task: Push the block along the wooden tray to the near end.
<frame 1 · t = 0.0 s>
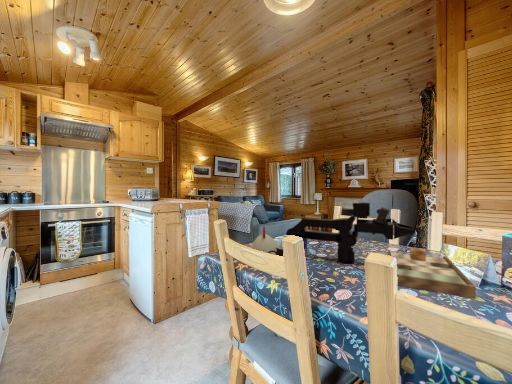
hand: (413, 229, 92), 17 cm above the table, tool horizontal, fingers open, 9 cm apart
beige cone with rod: (264, 259, 108), on the table
block: (417, 258, 100), point 2 cm above the table, touching wooden tray
wooden tray: (421, 272, 91), on the table
coffee mug: (283, 272, 92), on the table
puzzle toy: (294, 262, 105), on the table
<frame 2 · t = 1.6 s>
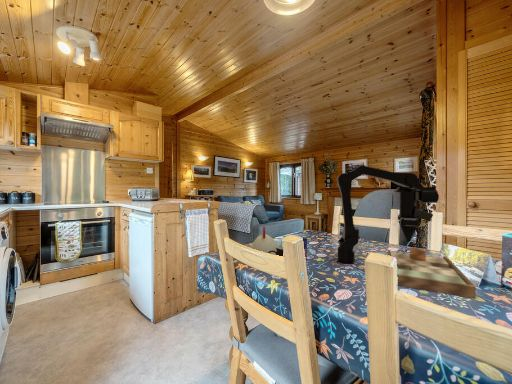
hand: (407, 239, 98), 11 cm above the table, tool pointing down, fingers open, 8 cm apart
nothing on the table moved.
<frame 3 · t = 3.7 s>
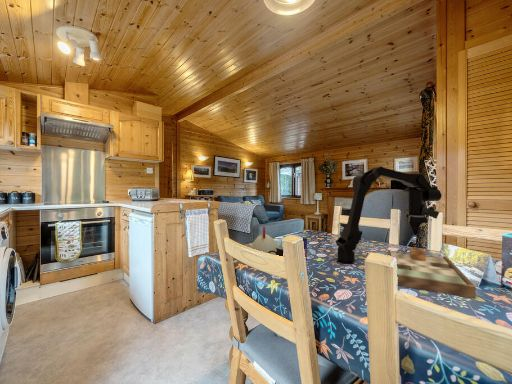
hand: (415, 235, 107), 11 cm above the table, tool pointing down, fingers closed
nothing on the table moved.
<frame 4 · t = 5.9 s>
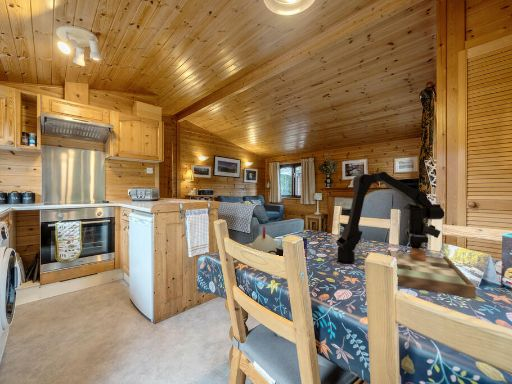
hand: (415, 254, 104), 3 cm above the table, tool pointing down, fingers closed
block: (417, 258, 100), point 2 cm above the table, touching gripper, wooden tray
everything else where it was.
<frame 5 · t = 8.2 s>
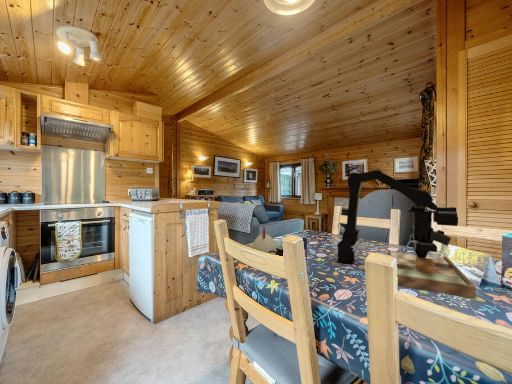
hand: (421, 264, 90), 4 cm above the table, tool pointing down, fingers closed
block: (425, 270, 86), point 2 cm above the table, touching gripper, wooden tray
everything else where it was.
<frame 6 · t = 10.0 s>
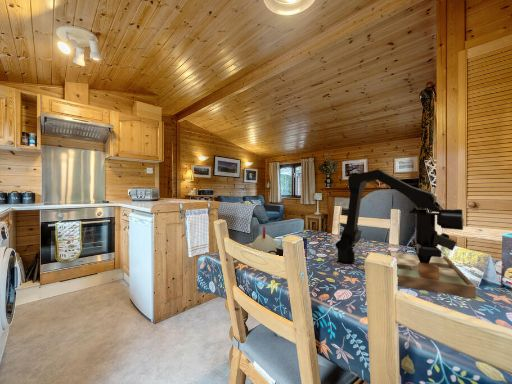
hand: (424, 269, 84), 4 cm above the table, tool pointing down, fingers closed
block: (428, 276, 80), point 2 cm above the table, touching gripper, wooden tray
everything else where it was.
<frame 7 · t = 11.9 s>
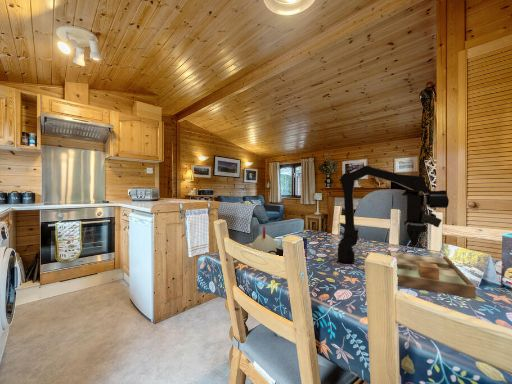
hand: (413, 245, 94), 10 cm above the table, tool pointing down, fingers closed
block: (428, 276, 80), point 2 cm above the table, touching wooden tray
everything else where it was.
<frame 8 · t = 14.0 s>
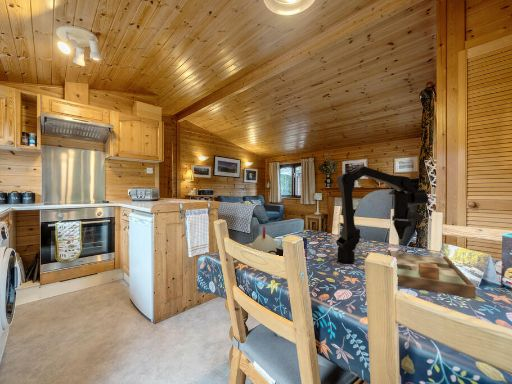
hand: (400, 239, 105), 10 cm above the table, tool pointing down, fingers closed
nothing on the table moved.
at the end: block inside the target area on the wooden tray (0.7 cm from its centre), point 2.5 cm above the wooden tray's base; block tilted 0° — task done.
